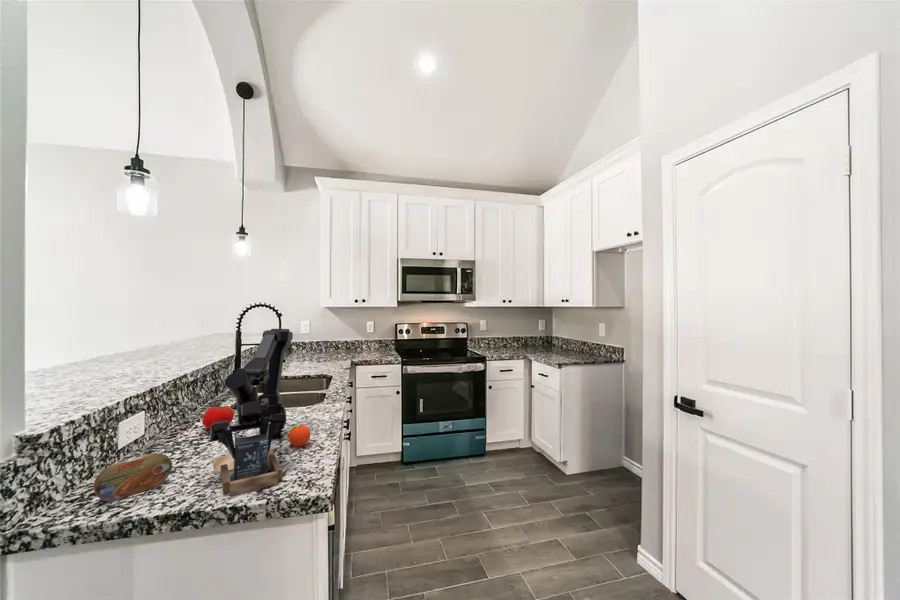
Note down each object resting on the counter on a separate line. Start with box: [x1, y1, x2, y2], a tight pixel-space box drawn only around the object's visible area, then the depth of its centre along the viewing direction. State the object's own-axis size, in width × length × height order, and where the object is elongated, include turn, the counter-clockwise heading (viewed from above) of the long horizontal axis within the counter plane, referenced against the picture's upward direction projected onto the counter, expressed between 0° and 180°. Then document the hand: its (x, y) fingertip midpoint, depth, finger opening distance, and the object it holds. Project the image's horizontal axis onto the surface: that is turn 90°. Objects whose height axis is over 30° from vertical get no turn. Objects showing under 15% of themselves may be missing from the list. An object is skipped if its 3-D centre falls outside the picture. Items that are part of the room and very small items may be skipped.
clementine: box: [285, 424, 312, 447], centre depth 122 cm, size 8×7×7 cm
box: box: [233, 434, 268, 481], centre depth 100 cm, size 8×6×11 cm
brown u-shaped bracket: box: [219, 454, 283, 497], centre depth 98 cm, size 14×14×3 cm
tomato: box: [202, 405, 235, 430], centre depth 137 cm, size 9×10×8 cm
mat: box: [212, 447, 275, 475], centre depth 110 cm, size 16×12×1 cm
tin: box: [92, 452, 173, 502], centre depth 91 cm, size 15×3×8 cm, turn 148°
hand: (251, 454), depth 98 cm, fingers closed on box, 8 cm apart
